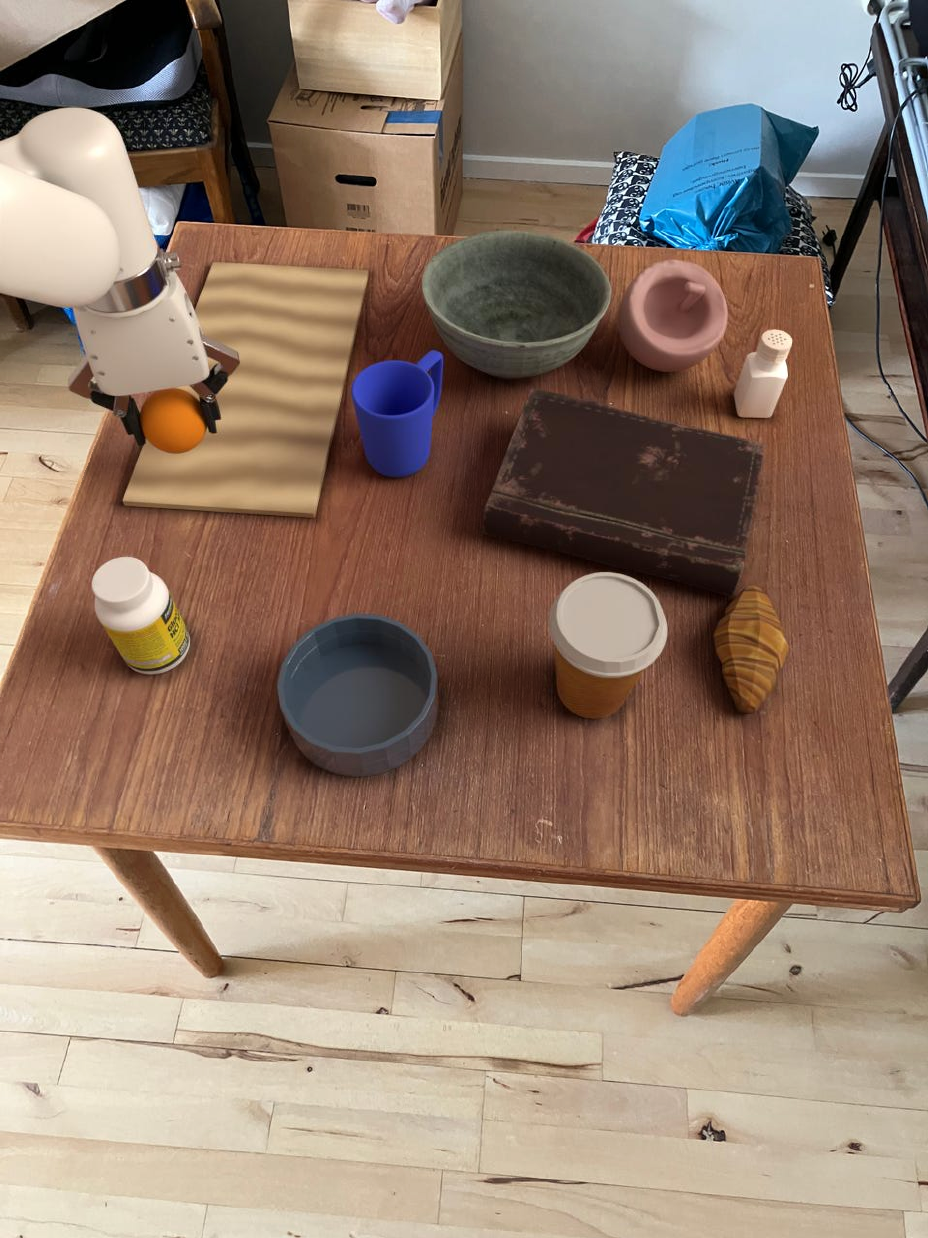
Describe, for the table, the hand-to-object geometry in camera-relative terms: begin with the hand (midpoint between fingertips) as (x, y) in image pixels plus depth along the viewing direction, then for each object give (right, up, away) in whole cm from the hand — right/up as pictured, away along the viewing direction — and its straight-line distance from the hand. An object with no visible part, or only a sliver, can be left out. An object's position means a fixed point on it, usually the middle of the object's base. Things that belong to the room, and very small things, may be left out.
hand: (176, 428), depth 88 cm
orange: (0, +1, -1) cm, 1 cm away
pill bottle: (0, -22, -6) cm, 23 cm away
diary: (+45, -7, +4) cm, 46 cm away
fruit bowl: (+20, -27, -10) cm, 35 cm away
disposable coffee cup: (+40, -25, -8) cm, 48 cm away
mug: (+23, -1, +8) cm, 24 cm away
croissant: (+55, -23, -6) cm, 60 cm away
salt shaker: (+61, +5, +11) cm, 63 cm away
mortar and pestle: (+52, +12, +16) cm, 56 cm away
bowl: (+35, +12, +16) cm, 40 cm away
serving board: (+5, +9, +13) cm, 17 cm away
